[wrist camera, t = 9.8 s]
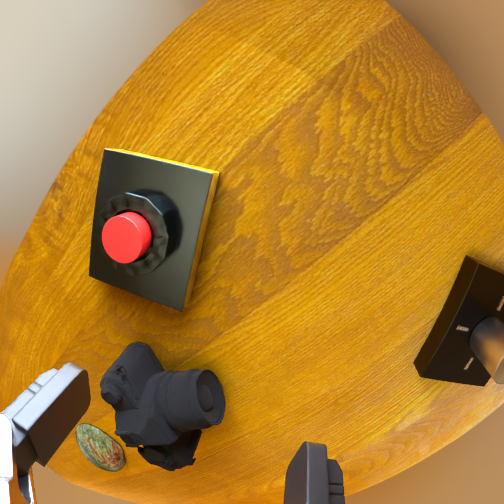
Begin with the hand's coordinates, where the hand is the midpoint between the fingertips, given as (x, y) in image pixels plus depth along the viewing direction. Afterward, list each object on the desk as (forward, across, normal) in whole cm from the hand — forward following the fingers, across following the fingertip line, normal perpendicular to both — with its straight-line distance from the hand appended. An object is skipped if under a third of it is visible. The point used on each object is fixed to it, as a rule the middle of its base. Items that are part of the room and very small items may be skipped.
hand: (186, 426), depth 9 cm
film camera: (+18, +4, +16) cm, 25 cm away
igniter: (+18, +9, -1) cm, 20 cm away
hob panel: (+18, -24, 0) cm, 29 cm away
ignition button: (+14, +9, -1) cm, 17 cm away
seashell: (+19, +16, +38) cm, 45 cm away
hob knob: (+15, -23, 0) cm, 28 cm away
